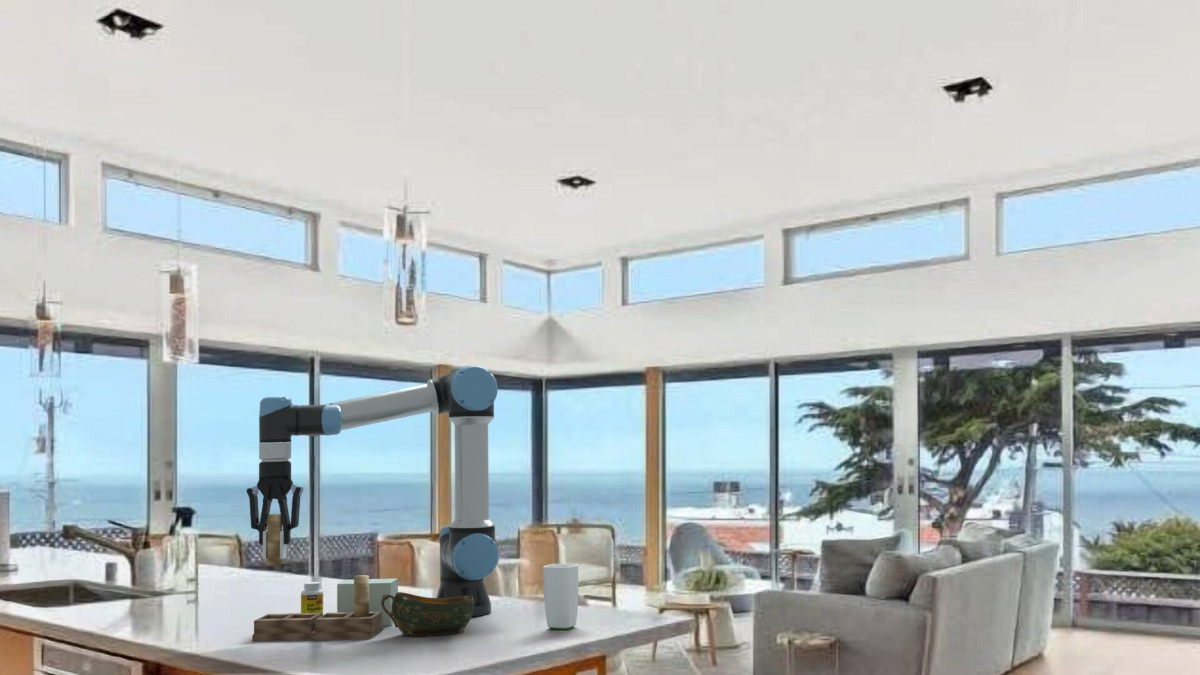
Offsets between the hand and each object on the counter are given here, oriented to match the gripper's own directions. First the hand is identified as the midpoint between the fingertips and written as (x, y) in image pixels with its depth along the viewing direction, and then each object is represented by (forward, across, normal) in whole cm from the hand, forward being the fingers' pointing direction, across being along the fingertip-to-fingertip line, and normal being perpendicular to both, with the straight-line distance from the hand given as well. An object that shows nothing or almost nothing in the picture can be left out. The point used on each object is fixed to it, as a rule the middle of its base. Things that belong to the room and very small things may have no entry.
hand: (274, 558), depth 261 cm
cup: (+19, -69, -3) cm, 71 cm away
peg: (+2, 0, 0) cm, 2 cm away
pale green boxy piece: (+18, -19, -16) cm, 31 cm away
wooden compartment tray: (+18, -11, 0) cm, 21 cm away
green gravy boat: (+19, -38, +1) cm, 42 cm away
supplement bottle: (+19, -4, -18) cm, 26 cm away
